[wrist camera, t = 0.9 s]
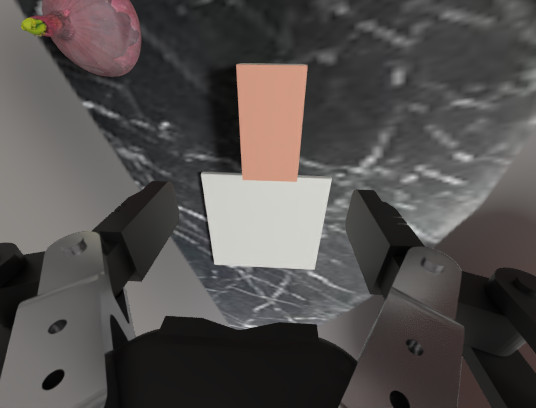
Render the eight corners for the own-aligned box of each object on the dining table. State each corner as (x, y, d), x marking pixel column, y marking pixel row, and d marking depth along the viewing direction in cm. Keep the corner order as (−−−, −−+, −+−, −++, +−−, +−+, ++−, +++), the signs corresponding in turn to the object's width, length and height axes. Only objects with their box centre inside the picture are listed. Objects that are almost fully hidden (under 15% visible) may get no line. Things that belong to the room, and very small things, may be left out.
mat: (202, 171, 27) (200, 173, 26) (330, 176, 27) (331, 178, 26) (215, 261, 35) (214, 264, 35) (313, 266, 35) (314, 269, 34)
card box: (243, 63, 21) (236, 64, 18) (303, 64, 21) (307, 65, 18) (247, 164, 27) (242, 180, 23) (294, 165, 26) (297, 181, 23)
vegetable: (101, 69, 22) (-12, 77, 13) (78, -20, 18) (-92, -84, 10) (165, 77, 22) (93, 89, 13) (155, -10, 18) (50, -66, 10)
